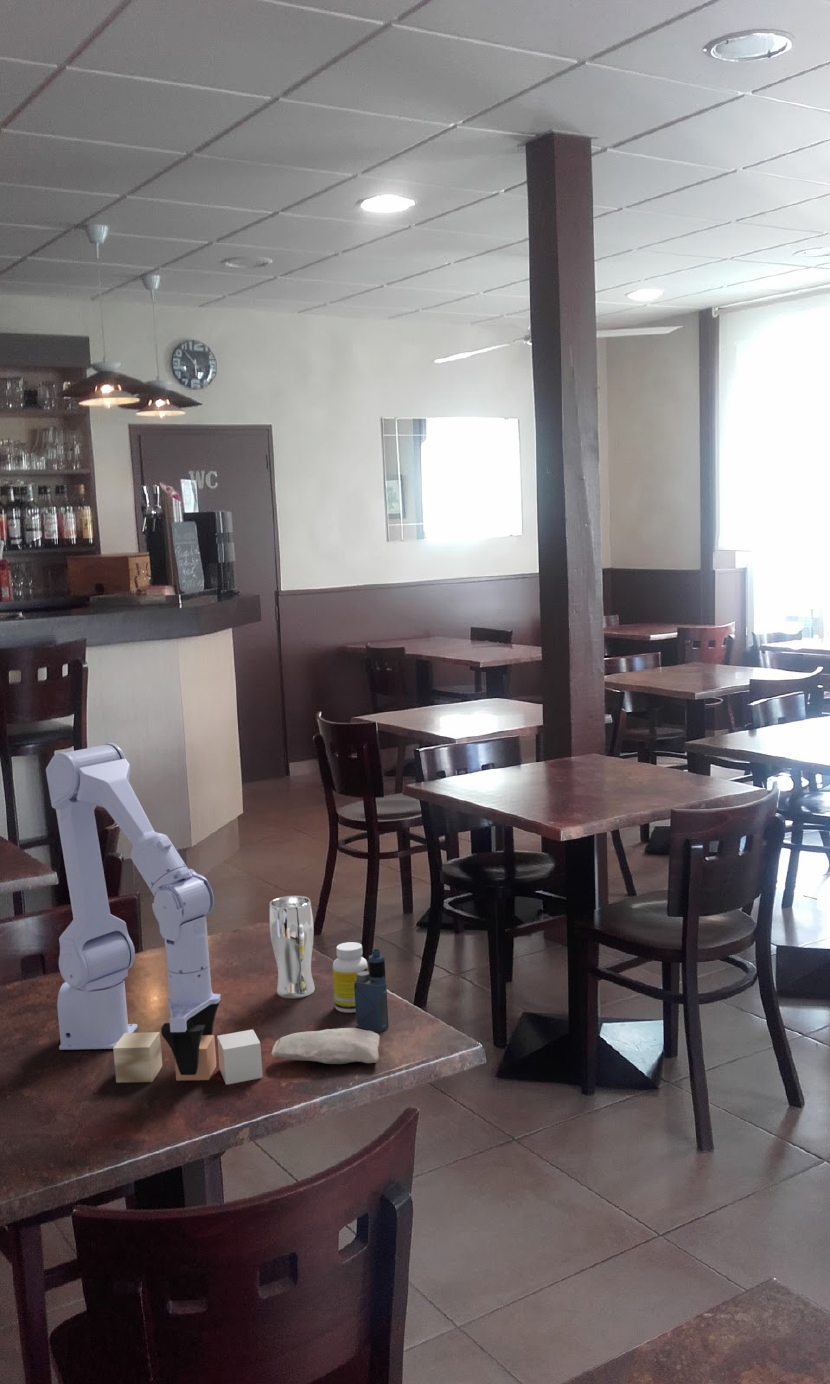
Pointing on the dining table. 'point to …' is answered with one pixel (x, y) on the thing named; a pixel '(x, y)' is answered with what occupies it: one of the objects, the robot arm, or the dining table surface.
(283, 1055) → the decorative stone
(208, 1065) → the terracotta cube
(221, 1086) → the dining table surface
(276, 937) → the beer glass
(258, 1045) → the white cube
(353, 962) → the supplement bottle
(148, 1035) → the birch cube
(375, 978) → the vaping device
